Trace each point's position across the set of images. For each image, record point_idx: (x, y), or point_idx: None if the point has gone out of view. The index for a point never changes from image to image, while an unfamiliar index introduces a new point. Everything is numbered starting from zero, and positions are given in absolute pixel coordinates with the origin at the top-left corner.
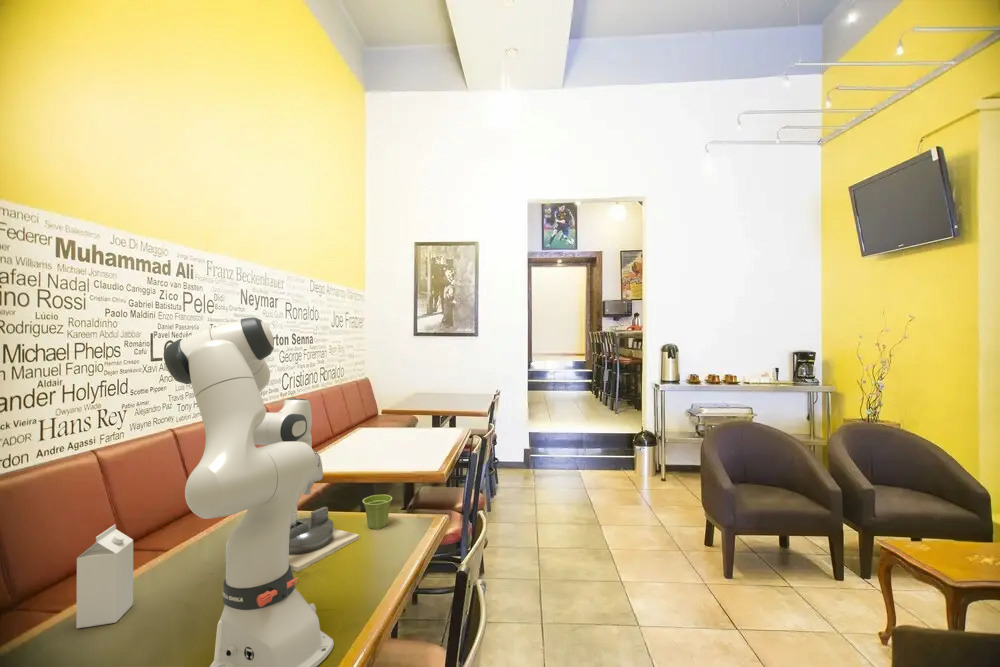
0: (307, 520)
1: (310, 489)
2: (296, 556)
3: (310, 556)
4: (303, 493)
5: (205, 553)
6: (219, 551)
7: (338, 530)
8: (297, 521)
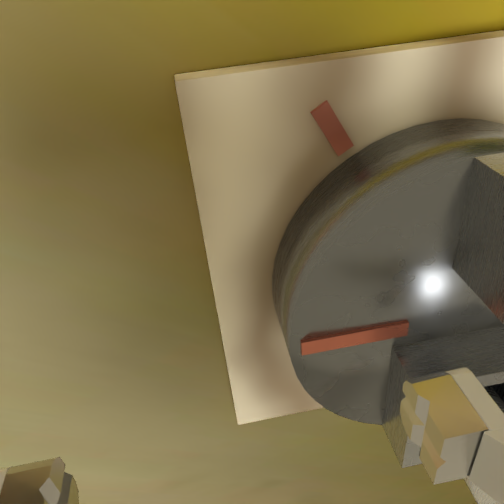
0: (382, 257)
1: (495, 410)
2: None
3: None
4: (412, 428)
5: (83, 479)
6: (107, 452)
7: (501, 49)
8: None
